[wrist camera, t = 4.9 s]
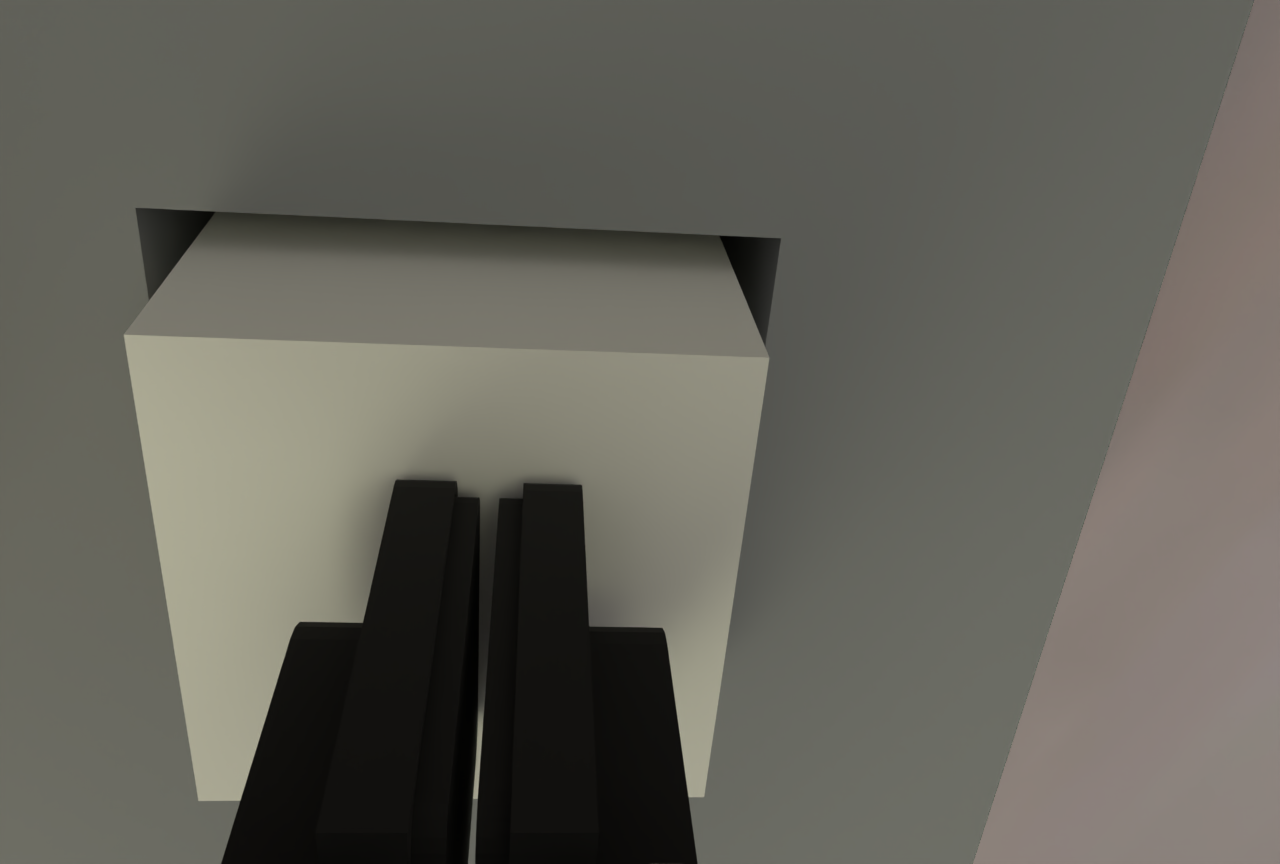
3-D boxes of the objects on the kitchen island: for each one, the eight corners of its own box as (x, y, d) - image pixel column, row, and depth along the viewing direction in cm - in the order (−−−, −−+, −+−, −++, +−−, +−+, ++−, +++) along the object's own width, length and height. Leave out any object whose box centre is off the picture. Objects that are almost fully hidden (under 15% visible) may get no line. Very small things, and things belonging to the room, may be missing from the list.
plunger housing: (-1120, -404, 12) (-2381, -550, 7) (1039, -203, 15) (1317, -196, 9) (-545, 629, 19) (-954, 949, 14) (854, 639, 21) (956, 912, 16)
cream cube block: (266, 143, 14) (124, 334, 9) (691, 166, 14) (769, 358, 9) (297, 503, 16) (197, 801, 11) (656, 510, 17) (703, 797, 12)
